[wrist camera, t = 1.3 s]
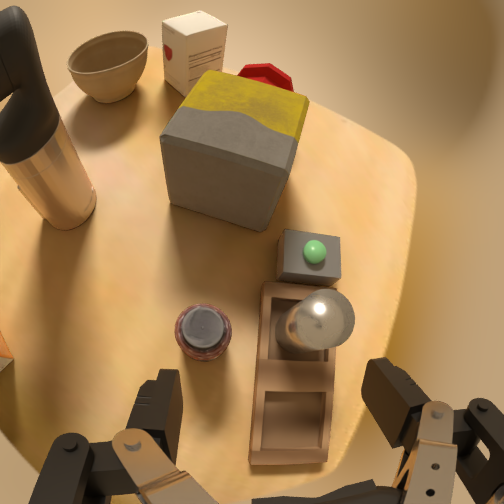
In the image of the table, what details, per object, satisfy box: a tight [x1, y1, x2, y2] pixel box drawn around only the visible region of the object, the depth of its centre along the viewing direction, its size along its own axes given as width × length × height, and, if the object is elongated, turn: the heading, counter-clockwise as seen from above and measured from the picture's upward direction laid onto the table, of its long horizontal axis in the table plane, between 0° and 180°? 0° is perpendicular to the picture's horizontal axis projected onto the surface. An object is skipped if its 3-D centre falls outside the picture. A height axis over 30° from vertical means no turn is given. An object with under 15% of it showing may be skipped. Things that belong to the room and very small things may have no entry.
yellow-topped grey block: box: [160, 63, 310, 232], centre depth 42 cm, size 15×24×15 cm, turn 164°
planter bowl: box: [67, 31, 148, 103], centre depth 47 cm, size 16×16×11 cm
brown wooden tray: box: [248, 281, 337, 465], centre depth 37 cm, size 24×10×2 cm, turn 176°
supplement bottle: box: [175, 304, 232, 361], centre depth 33 cm, size 6×6×11 cm
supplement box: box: [162, 11, 228, 98], centre depth 48 cm, size 9×9×15 cm
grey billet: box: [275, 289, 355, 354], centre depth 34 cm, size 6×6×11 cm
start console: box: [276, 229, 341, 286], centre depth 42 cm, size 8×6×5 cm
